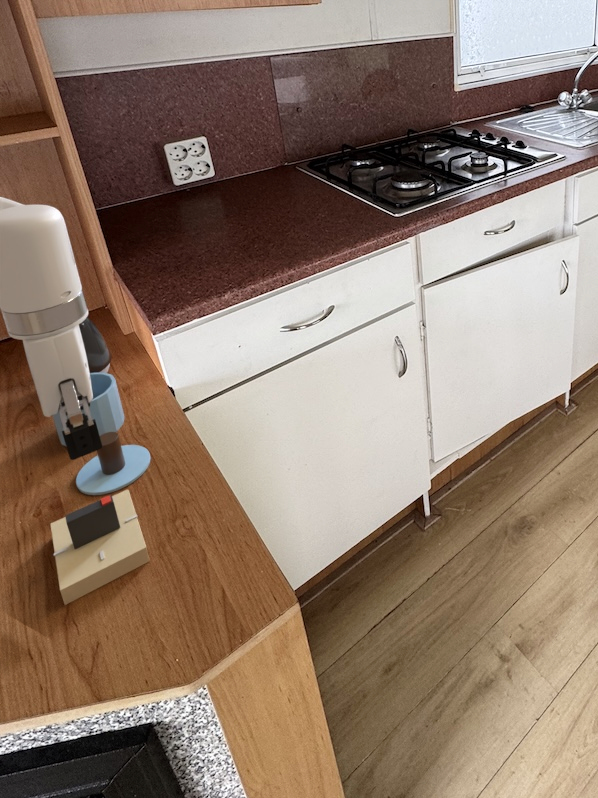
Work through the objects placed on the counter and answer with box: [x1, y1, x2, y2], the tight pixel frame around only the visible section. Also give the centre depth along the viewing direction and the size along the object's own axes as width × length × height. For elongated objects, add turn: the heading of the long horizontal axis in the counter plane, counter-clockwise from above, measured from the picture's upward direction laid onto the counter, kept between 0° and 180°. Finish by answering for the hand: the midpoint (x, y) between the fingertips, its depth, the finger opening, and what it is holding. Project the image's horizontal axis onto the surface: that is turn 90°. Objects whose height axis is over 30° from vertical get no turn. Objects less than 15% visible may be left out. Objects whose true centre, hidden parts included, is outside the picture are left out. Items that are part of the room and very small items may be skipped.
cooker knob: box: [64, 494, 120, 549], centre depth 75 cm, size 5×2×5 cm, turn 131°
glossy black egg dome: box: [79, 316, 112, 373], centre depth 107 cm, size 10×10×15 cm
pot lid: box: [75, 432, 151, 496], centre depth 88 cm, size 10×10×7 cm
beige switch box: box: [50, 489, 151, 606], centre depth 76 cm, size 12×9×3 cm
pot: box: [51, 372, 125, 447], centre depth 96 cm, size 9×9×8 cm
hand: (81, 431), depth 72 cm, fingers open, 9 cm apart
